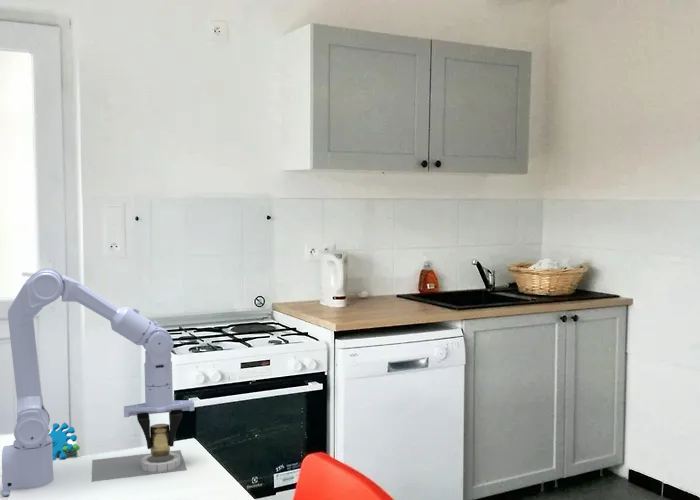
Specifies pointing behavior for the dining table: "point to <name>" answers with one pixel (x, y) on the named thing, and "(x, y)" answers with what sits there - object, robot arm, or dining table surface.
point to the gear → (63, 441)
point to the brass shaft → (160, 440)
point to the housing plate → (136, 466)
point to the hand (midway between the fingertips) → (160, 446)
